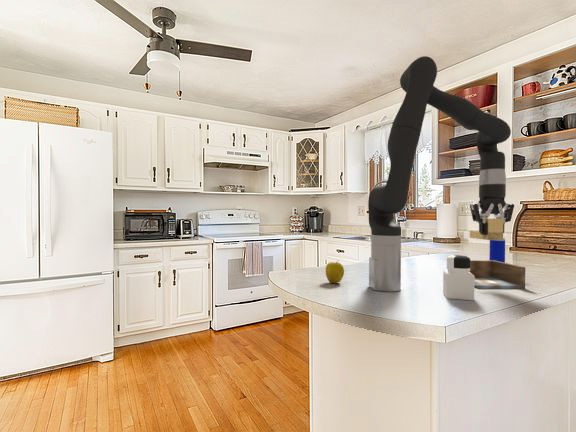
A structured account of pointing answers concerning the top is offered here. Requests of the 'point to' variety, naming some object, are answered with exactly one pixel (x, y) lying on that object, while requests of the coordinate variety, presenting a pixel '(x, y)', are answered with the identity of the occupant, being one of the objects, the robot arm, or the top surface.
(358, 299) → the top surface
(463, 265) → the medicine bottle
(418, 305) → the top surface
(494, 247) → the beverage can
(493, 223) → the brass bracket
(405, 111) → the robot arm
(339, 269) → the apple
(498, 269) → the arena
